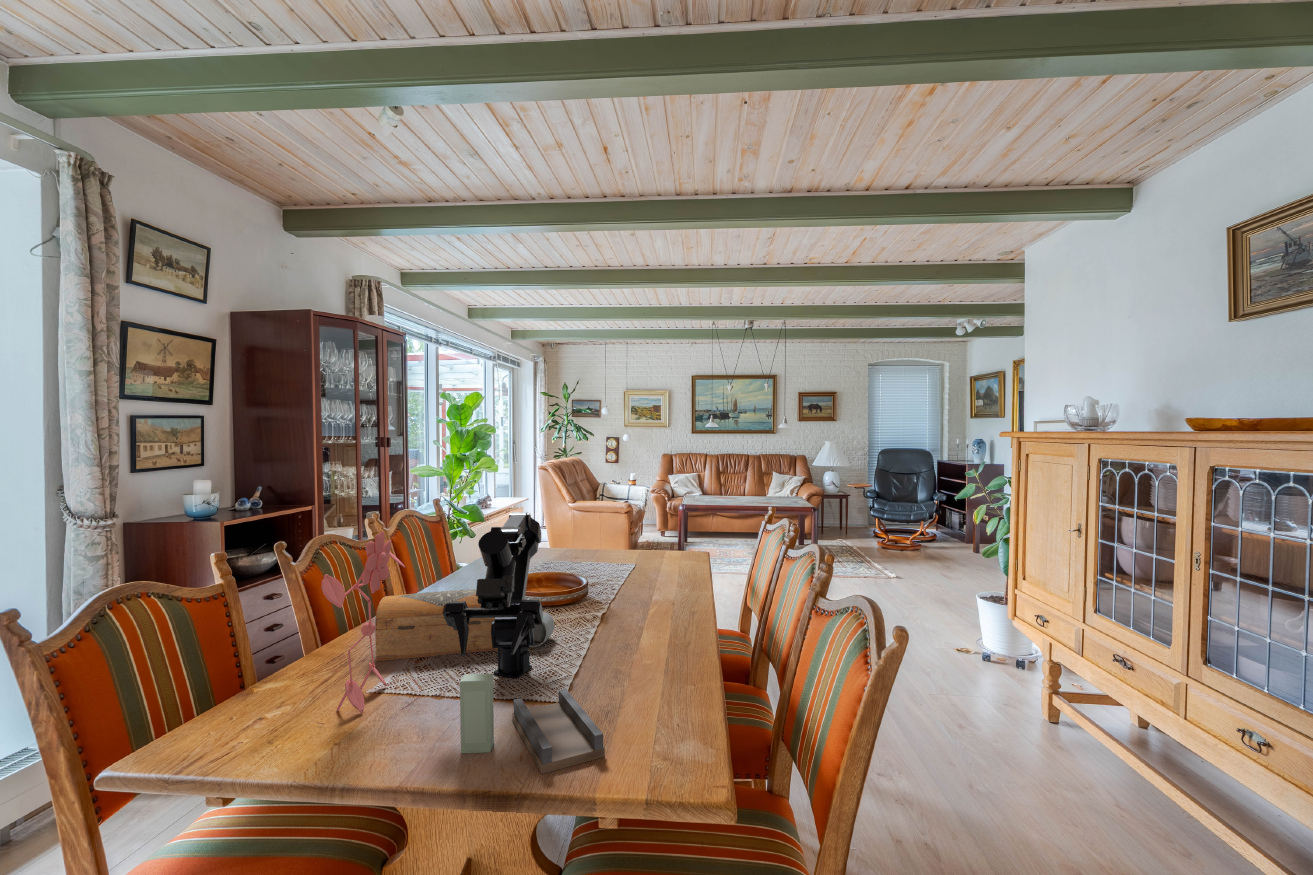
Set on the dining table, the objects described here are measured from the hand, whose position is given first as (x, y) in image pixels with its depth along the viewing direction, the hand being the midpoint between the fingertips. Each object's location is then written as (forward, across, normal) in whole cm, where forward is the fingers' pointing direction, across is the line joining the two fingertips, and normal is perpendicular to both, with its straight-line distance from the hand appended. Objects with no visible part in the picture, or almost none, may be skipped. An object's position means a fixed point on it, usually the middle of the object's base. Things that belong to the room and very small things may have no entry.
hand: (487, 654), depth 112 cm
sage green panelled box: (+15, 0, +4) cm, 16 cm away
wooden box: (-21, -21, +41) cm, 51 cm away
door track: (+13, +13, +6) cm, 20 cm away
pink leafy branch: (+1, -25, +18) cm, 31 cm away
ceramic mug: (-21, +2, +41) cm, 46 cm away
